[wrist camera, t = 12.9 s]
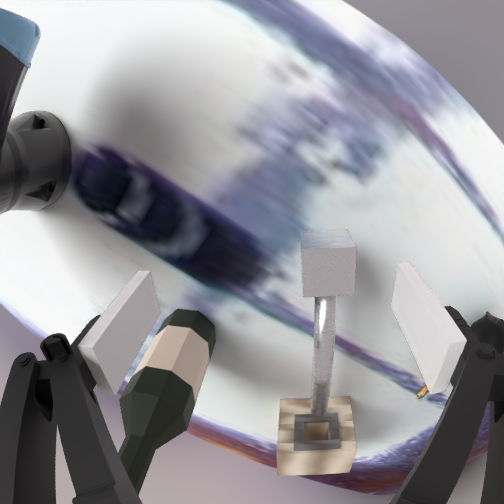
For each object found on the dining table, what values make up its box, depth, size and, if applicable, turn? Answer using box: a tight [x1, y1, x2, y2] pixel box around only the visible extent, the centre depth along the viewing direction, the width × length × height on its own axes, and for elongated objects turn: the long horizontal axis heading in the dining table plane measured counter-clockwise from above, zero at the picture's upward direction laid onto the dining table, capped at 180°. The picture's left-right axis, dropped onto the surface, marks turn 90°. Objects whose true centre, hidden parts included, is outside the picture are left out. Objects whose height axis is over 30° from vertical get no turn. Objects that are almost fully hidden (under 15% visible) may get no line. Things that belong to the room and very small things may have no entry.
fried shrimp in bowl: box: [417, 312, 504, 399], centre depth 38 cm, size 9×11×18 cm
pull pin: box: [301, 229, 357, 416], centre depth 35 cm, size 5×26×5 cm, turn 5°
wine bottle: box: [118, 309, 215, 495], centre depth 32 cm, size 8×8×30 cm
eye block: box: [277, 396, 357, 475], centre depth 45 cm, size 12×9×12 cm
